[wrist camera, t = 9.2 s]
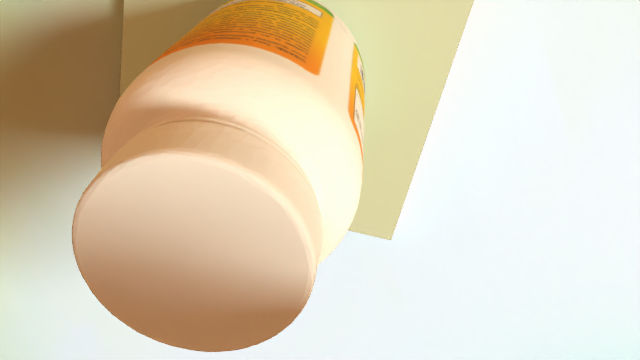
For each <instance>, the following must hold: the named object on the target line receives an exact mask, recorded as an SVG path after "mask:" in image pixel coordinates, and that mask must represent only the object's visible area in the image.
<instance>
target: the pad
mask: <svg viewBox="0 0 640 360" xmlns="http://www.w3.org/2000/svg"><path fill="white" fill-rule="evenodd" d="M227 1H229V0H124V9H123V30H122V51H121V72H120V93H119V98H120V97H121V96H122V94H123V93H124V91H125V90H126V89H127V88H128V87H129V86H130V85H131V83H132V82H133V81H134V80H135V79H136V78H137V77H138V76H139V75H140V74H141V73H142V72H143V71H144V70H145V69H146V68H147V67H148V66H149V65H150V64H151V63H153V62H154V61H155V60H156V59H157V58H159V57H160V56H161V55H162V54H163V53H164V52H165V51H166V50H168V49H169V48H170V47H171V46H172V45H173V44H175V43H176V42H177V41H178V40H180V39H181V38H182V37H183V36H185V35H186V34H187V33H188V32H189V31H191V30H192V29H193V28H194V27H195V26H197V25H198V24H199V23H200V22H201V21H202V20H203V19H204V18H205V17H207V16H208V15H209V14H210V13H212V12H213V11H214V10H215V9H216V8H218V7H219V6H221V5H222V4H224V3H225V2H227ZM317 1H319V2H321V3H322V4H324V5H325V6H327V7H328V8H330V9H331V10H332V11H333V12H334V13H335V14H336V15H337V16H338V17H339V18H340V19H341V20H342V21H343V22H344V23H345V24H346V26H347V27H348V29H349V30H350V32H351V33H352V35H353V37H354V39H355V40H356V42H357V45H358V47H359V50H360V53H361V57H362V60H363V66H364V73H365V108H364V142H363V179H362V186H361V192H360V199H359V203H358V207H357V210H356V213H355V216H354V218H353V221H352V223H351V225H350V227H349V229H348V230H349V231H353V232H358V233H362V234H366V235H371V236H375V237H379V238H384V239H388V240H391V238H392V235H393V233H394V230H395V227H396V224H397V221H398V218H399V215H400V212H401V209H402V207H403V204H404V201H405V198H406V195H407V192H408V189H409V186H410V183H411V181H412V178H413V175H414V172H415V169H416V166H417V163H418V160H419V158H420V155H421V152H422V149H423V146H424V143H425V140H426V137H427V134H428V132H429V129H430V126H431V123H432V120H433V117H434V114H435V111H436V109H437V106H438V103H439V100H440V97H441V94H442V91H443V88H444V85H445V83H446V80H447V77H448V74H449V71H450V68H451V65H452V62H453V59H454V57H455V54H456V51H457V48H458V45H459V42H460V39H461V36H462V34H463V31H464V28H465V25H466V22H467V19H468V16H469V13H470V10H471V8H472V5H473V2H474V0H317Z"/></svg>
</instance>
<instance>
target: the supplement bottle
mask: <svg viewBox="0 0 640 360" xmlns="http://www.w3.org/2000/svg"><path fill="white" fill-rule="evenodd" d="M364 108H365V73H364V66H363V60H362V57H361V53H360V50H359V47H358V45H357V42H356V40H355V39H354V37H353V35H352V33H351V32H350V30H349V29H348V27H347V26H346V24H345V23H344V22H343V21H342V20H341V19H340V18H339V17H338V16H337V15H336V14H335V13H334V12H333V11H332V10H331V9H330V8H328V7H327V6H325V5H324V4H322V3H321V2H319V1H317V0H229V1H227V2H225V3H224V4H222V5H221V6H219V7H218V8H216V9H215V10H214V11H213V12H212V13H210V14H209V15H208V16H207V17H205V18H204V19H203V20H202V21H201V22H200V23H199V24H198V25H197V26H195V27H194V28H193V29H192V30H191V31H189V32H188V33H187V34H186V35H185V36H183V37H182V38H181V39H180V40H178V41H177V42H176V43H175V44H173V45H172V46H171V47H170V48H169V49H168V50H166V51H165V52H164V53H163V54H162V55H161V56H160V57H159V58H157V59H156V60H155V61H154V62H153V63H151V64H150V65H149V66H148V67H147V68H146V69H145V70H144V71H143V72H142V73H141V74H140V75H139V76H138V77H137V78H136V79H135V80H134V81H133V82H132V83H131V85H130V86H129V87H128V88H127V89H126V90H125V91H124V93H123V94H122V96H121V97H120V98H119V100H118V101H117V103H116V105H115V107H114V109H113V111H112V113H111V115H110V118H109V121H108V123H107V126H106V130H105V133H104V137H103V141H102V149H101V167H102V170H101V171H100V172H99V173H98V174H97V176H96V177H95V178H94V179H93V180H92V182H91V183H90V184H89V186H88V187H87V188H86V190H85V191H84V193H83V194H82V196H81V198H80V200H79V202H78V205H77V208H76V211H75V214H74V219H73V226H72V244H73V251H74V255H75V258H76V262H77V265H78V268H79V270H80V272H81V275H82V277H83V278H84V280H85V282H86V283H87V285H88V286H89V288H90V290H91V291H92V293H93V294H94V295H95V296H96V298H97V299H98V300H99V302H100V303H101V304H102V305H103V306H104V307H105V308H106V309H107V310H108V311H109V312H110V313H111V314H112V315H114V316H115V317H117V318H118V319H119V320H121V321H122V322H123V323H125V324H126V325H128V326H129V327H131V328H132V329H134V330H135V331H137V332H139V333H141V334H143V335H145V336H147V337H149V338H152V339H154V340H156V341H159V342H162V343H165V344H168V345H171V346H175V347H179V348H184V349H189V350H195V351H205V352H221V351H232V350H238V349H243V348H247V347H250V346H253V345H257V344H259V343H261V342H264V341H266V340H268V339H270V338H272V337H274V336H275V335H277V334H278V333H280V332H281V331H282V330H284V329H285V328H286V327H287V326H289V325H290V324H291V323H292V322H293V321H294V319H295V318H296V317H297V316H298V315H299V313H300V312H301V311H302V309H303V308H304V306H305V304H306V303H307V300H308V298H309V296H310V294H311V291H312V288H313V285H314V281H315V276H316V271H317V265H318V264H319V263H321V262H322V261H323V260H324V259H325V258H326V257H327V256H329V255H330V253H331V252H332V251H333V250H334V249H335V248H336V247H337V245H338V244H339V243H340V241H341V240H342V238H343V237H344V235H345V234H346V232H347V231H348V229H349V227H350V225H351V223H352V221H353V218H354V216H355V213H356V210H357V207H358V203H359V199H360V192H361V186H362V179H363V142H364Z"/></svg>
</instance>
